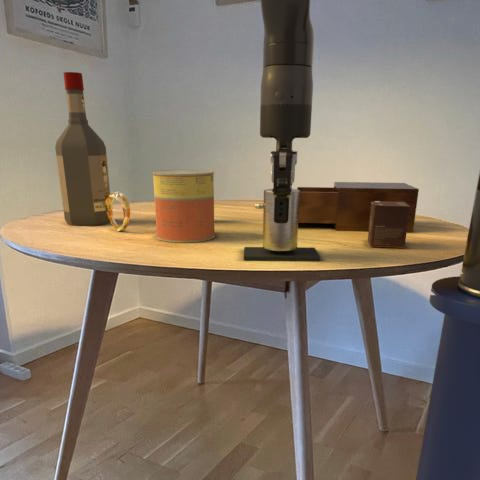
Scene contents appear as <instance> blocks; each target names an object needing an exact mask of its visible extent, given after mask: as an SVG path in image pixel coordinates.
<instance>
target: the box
mask: <svg viewBox="0 0 480 480" xmlns="http://www.w3.org/2000/svg"><path fill="white" fill-rule="evenodd" d="M409 209H410V206H409V205H408V204H407V203H405V202H390V201H373V202H371V212H370V222H369V231H368V234H367V242H368V244H369V246H370V247H371V248H395V249H396V248H397V249H404V248H405V247H406V240H407V233H408V232H407V225H408V217H409Z"/></svg>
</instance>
